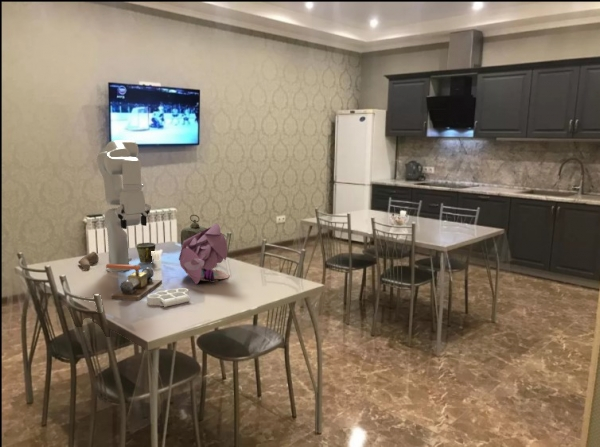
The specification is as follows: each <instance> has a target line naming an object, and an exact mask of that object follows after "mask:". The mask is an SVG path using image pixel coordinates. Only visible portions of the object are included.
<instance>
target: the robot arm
mask: <svg viewBox="0 0 600 447" xmlns="http://www.w3.org/2000/svg"><path fill="white" fill-rule="evenodd" d="M105 149H106V151H101V152H100V153H98V154H97V155H96V156H97V157H96V162H97V167H98V169H99V172H100V174H101V176H102V179H103V184H104V185H103V186H104V194H105V195H104V196H105V200H106V201H105V202H106V204H107V205H109V206H119V207H113V208H112V207H111V208H109V209H107V210H106V211H105V212H104V221H105V226H106V232H107V247H108V264H122V265H132V264H130V262H131V261H132V257H131V256H130V257H129V238H128V234H127V231H126V230H127V229H128V227H135V226H139V225H141V226H146V227H147V220H148V218H147V217H149V216H148V215H149V214H150V211H151V209H152V206H151V205H149V204H148V203H146V200H145V195H144V191H143V190H142V189H143V188H144V186H145V184H142V163H141V160H140V159H139V158H138V157H139V153H140V152H139V151H140V150H139V146H138V144H137V143H136V142H135V141H134V140H111V141H109V142H107V144H106V146H105ZM121 175H122V176H121ZM105 268H106V267H105ZM106 271H108V272H113V273H120V272H126V271H131V269H115V268H106Z"/></svg>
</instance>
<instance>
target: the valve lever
mask: <svg viewBox="0 0 600 447" xmlns="http://www.w3.org/2000/svg"><path fill="white" fill-rule="evenodd" d="M105 268H115V269H130V270H133V271H135V270H139V271H140V269H141V264H131V265H122V264H109V263H107V264H106V265H105Z"/></svg>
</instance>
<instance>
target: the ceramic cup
mask: <svg viewBox="0 0 600 447" xmlns="http://www.w3.org/2000/svg"><path fill="white" fill-rule="evenodd" d="M156 245H157V244H156V243H155V242H139V243H137V244H136V246H135V247H136V251H137V255H138V258H139V262H140V265H149V264H150V263H151V262H152V256H151V251H156ZM151 264H152V263H151Z"/></svg>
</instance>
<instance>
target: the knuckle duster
mask: <svg viewBox="0 0 600 447" xmlns="http://www.w3.org/2000/svg"><path fill="white" fill-rule="evenodd" d="M146 302H147V305H149V306H154V305H155V306H160V307H161V306H164V307H163V308H166V307H170V306H175V305H176V306H177V305H179V304H184V303H189V302H191V297H190V295H189V288H185V287H180V288H171V289H166V290H159V291H156V292H154V293H151V294H150V293H148V294H147V295H146Z"/></svg>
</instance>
